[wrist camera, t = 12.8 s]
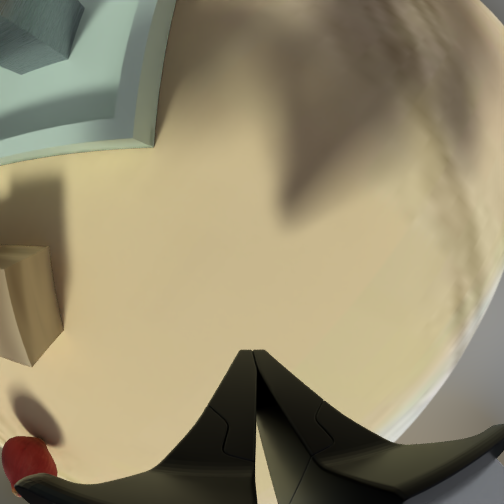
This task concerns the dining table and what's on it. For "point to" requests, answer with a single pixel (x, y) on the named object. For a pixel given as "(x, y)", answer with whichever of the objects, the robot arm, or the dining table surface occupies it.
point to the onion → (26, 459)
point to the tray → (91, 86)
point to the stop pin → (37, 32)
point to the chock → (27, 303)
